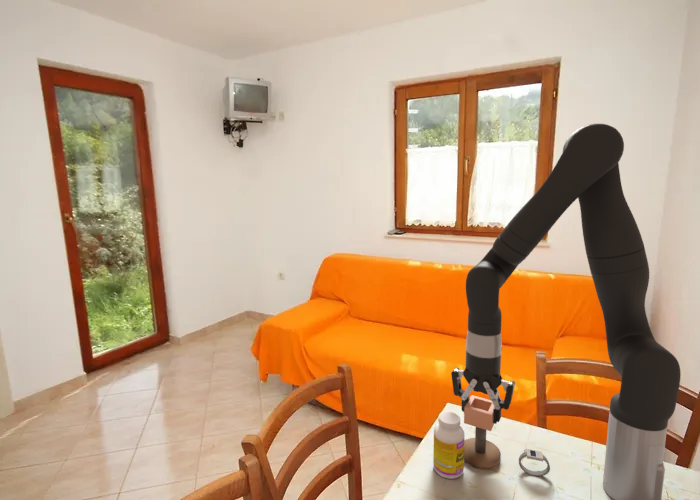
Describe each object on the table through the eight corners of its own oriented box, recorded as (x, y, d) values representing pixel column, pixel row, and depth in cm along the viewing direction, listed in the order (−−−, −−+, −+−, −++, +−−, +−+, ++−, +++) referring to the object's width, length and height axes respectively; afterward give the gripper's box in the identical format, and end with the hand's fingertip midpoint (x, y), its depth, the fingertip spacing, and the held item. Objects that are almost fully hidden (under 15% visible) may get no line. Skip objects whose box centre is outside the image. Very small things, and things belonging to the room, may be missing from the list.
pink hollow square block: (496, 417, 91) (497, 401, 90) (491, 431, 86) (491, 414, 85) (471, 410, 94) (471, 395, 93) (463, 423, 89) (464, 407, 88)
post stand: (504, 451, 93) (505, 413, 91) (495, 475, 85) (497, 434, 84) (466, 439, 98) (467, 402, 96) (455, 460, 90) (456, 421, 89)
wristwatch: (548, 472, 86) (549, 452, 85) (550, 481, 83) (551, 460, 82) (517, 466, 88) (518, 446, 87) (518, 475, 85) (519, 454, 84)
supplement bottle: (458, 484, 83) (459, 430, 81) (429, 473, 87) (429, 421, 84) (467, 465, 89) (468, 414, 87) (439, 455, 92) (439, 405, 90)
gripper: (446, 348, 88) (445, 416, 91) (514, 363, 80) (510, 436, 83) (456, 337, 94) (455, 401, 97) (520, 349, 86) (516, 418, 89)
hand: (480, 417), depth 90 cm, fingers closed on pink hollow square block, 6 cm apart
